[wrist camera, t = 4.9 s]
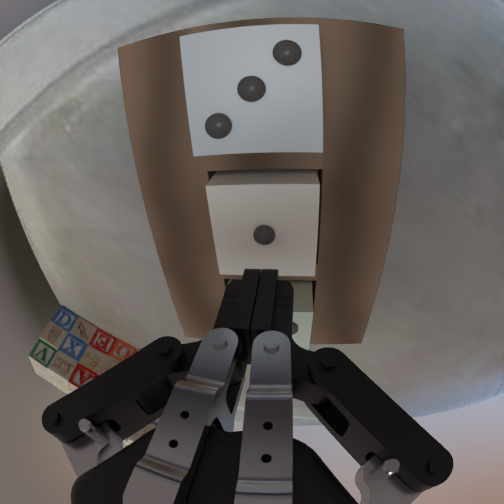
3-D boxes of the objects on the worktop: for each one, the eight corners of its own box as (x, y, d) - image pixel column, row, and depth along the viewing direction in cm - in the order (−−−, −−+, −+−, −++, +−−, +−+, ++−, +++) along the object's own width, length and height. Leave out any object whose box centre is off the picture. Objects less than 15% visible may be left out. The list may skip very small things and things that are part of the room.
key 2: (311, 280, 20) (313, 314, 17) (306, 333, 24) (306, 365, 21) (229, 278, 21) (219, 311, 18) (237, 330, 24) (231, 362, 22)
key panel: (386, 35, 12) (403, 28, 10) (357, 318, 26) (361, 343, 23) (140, 49, 14) (117, 48, 12) (193, 314, 28) (185, 336, 25)
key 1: (315, 166, 17) (320, 185, 14) (312, 247, 20) (314, 278, 17) (218, 167, 18) (204, 187, 15) (229, 246, 21) (219, 276, 18)
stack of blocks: (63, 326, 35) (25, 389, 25) (61, 303, 32) (16, 372, 21) (186, 390, 39) (166, 461, 29) (200, 376, 35) (178, 458, 25)
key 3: (312, 35, 11) (318, 23, 8) (316, 138, 15) (323, 153, 12) (200, 43, 12) (177, 36, 9) (210, 141, 15) (192, 157, 13)
